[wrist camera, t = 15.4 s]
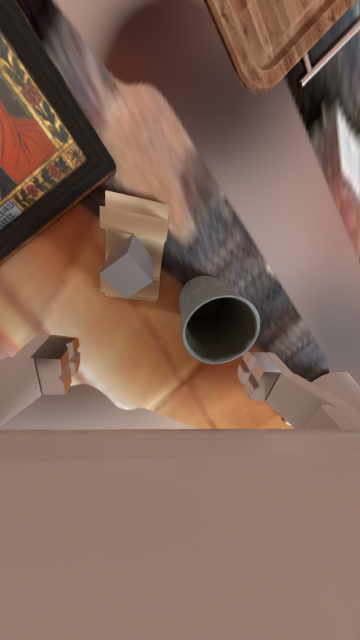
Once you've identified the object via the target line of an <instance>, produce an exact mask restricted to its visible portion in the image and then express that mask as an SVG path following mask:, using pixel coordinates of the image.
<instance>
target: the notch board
mask: <svg viewBox="0 0 360 640" xmlns="http://www.w3.org/2000/svg"><path fill="white" fill-rule="evenodd" d="M168 211H169V205H168V204H163V203H159V202H155V201H150V200H146V199H142V198H137V197H133V196H128V195H124V194H120V193H115V192H111V191H106V190H105V207H103V206H100V229H104V230H105V261H106V259H107V257H108V255H109V253H110V251H112V250H113V249H114V248H115V247H117V246H118V245H119V244H121V243H122V242H123V241H125V240H126V239H127V238H128V237H130V236H131V235H132V234H134V235H135V236H136V237H137V238H138V240H139V241H140V242H141V243H142V245H143V246H144V247H145V249H146V250H147V251H148V252H149V254H150V255H151V256H152V258H153V259H154V266H153V282H152V283H150V284H149V285H147V286H145V287H144V288H142V289H141V290H139V291H138V292H136V293H135V294H133V295H131V296H130V297H128V298H127V299H134V300H143V301H151V302H156V299H158V295H159V288H160V278H159V277H160V270H161V262H162V255H163V248H164V241H166V238H167V231H168V224H169V220H167V219H168ZM100 292H105V296H110V297H118V298H124V297H123V296H122V295H121V294H120V293H119V292H118V291H117V290H116V289H115V288H114V287H113V286H111V285H110V284H109V283H108V282H107V281H106V280H105V279H104V278H103V277H102V276H101V275H100Z"/></svg>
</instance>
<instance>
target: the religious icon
mask: <svg viewBox="0 0 360 640" xmlns="http://www.w3.org/2000/svg"><path fill="white" fill-rule="evenodd" d="M115 173H116V164H115V162H114V160H113V158H112V157H111V155H110V154H109V152H108V151H107V149H106V147H105V146H104V144H103V143H102V141H101V139H100V137H99V136H98V134H97V133H96V131H95V129H94V128H93V126H92V124H91V123H90V121H89V120H88V118H87V116H86V115H85V113H84V111H83V110H82V108H81V107H80V105H79V103H78V102H77V100H76V98H75V97H74V95H73V94H72V92H71V90H70V89H69V87H68V85H67V84H66V82H65V81H64V79H63V77H62V76H61V74H60V72H59V71H58V69H57V67H56V66H55V64H54V63H53V61H52V59H51V58H50V56H49V54H48V53H47V51H46V49H45V48H44V46H43V44H42V43H41V41H40V39H39V38H38V36H37V34H36V33H35V31H34V30H33V28H32V27H31V25H30V23H29V22H28V20H27V18H26V17H25V15H24V13H23V12H22V10H21V8H20V7H19V5H18V4H17V2H16V0H0V266H1V265H3V264H4V263H5V262H6V261H7V260H8V259H9V258H11V257H12V256H13V255H14V254H15V253H17V252H18V251H19V250H21V249H22V248H23V247H24V246H26V245H27V244H28V243H29V242H30V241H31V240H33V239H34V238H35V237H36V236H38V235H39V234H40V233H42V232H43V231H44V230H46V229H47V228H48V227H49V226H51V225H52V224H53V223H55V222H56V221H57V220H59V219H60V218H61V217H62V216H63V215H64V214H65V213H66V212H68V211H69V210H70V209H72V208H73V207H74V206H76V205H77V204H78V203H79V202H81V201H82V200H83V199H85V198H86V197H87V196H88V195H90V194H91V193H92V192H93V191H94V190H96V189H97V188H98V187H99V186H101V185H102V184H103V183H104V182H106V181H107V180H109V179H110V178H111V177H113V176H114V175H115Z"/></svg>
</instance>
